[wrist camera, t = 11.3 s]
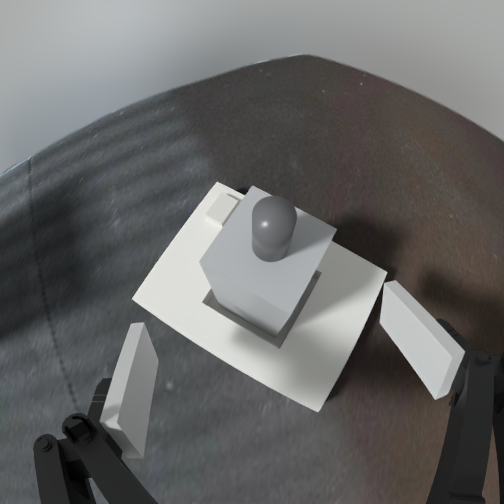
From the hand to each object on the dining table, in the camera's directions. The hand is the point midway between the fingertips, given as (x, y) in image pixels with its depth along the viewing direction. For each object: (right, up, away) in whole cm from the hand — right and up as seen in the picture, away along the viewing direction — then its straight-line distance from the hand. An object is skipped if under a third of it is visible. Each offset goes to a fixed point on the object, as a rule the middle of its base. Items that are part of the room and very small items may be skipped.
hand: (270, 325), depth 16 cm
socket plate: (0, 0, +9) cm, 9 cm away
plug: (0, 0, +8) cm, 8 cm away
